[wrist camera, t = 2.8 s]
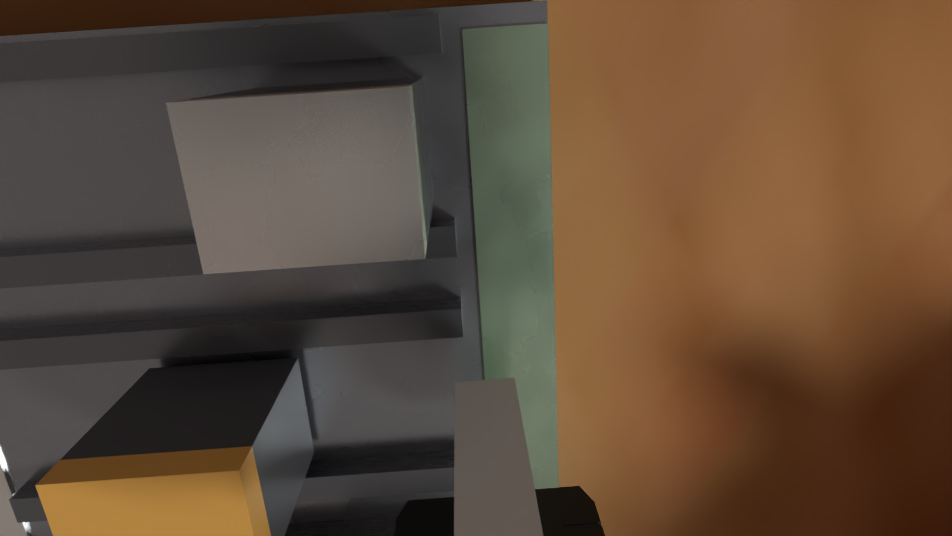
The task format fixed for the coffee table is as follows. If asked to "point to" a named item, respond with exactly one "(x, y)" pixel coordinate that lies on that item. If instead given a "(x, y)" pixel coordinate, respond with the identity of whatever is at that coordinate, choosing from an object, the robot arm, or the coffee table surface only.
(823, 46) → the coffee table surface
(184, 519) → the breaker
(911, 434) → the coffee table surface
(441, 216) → the panel
